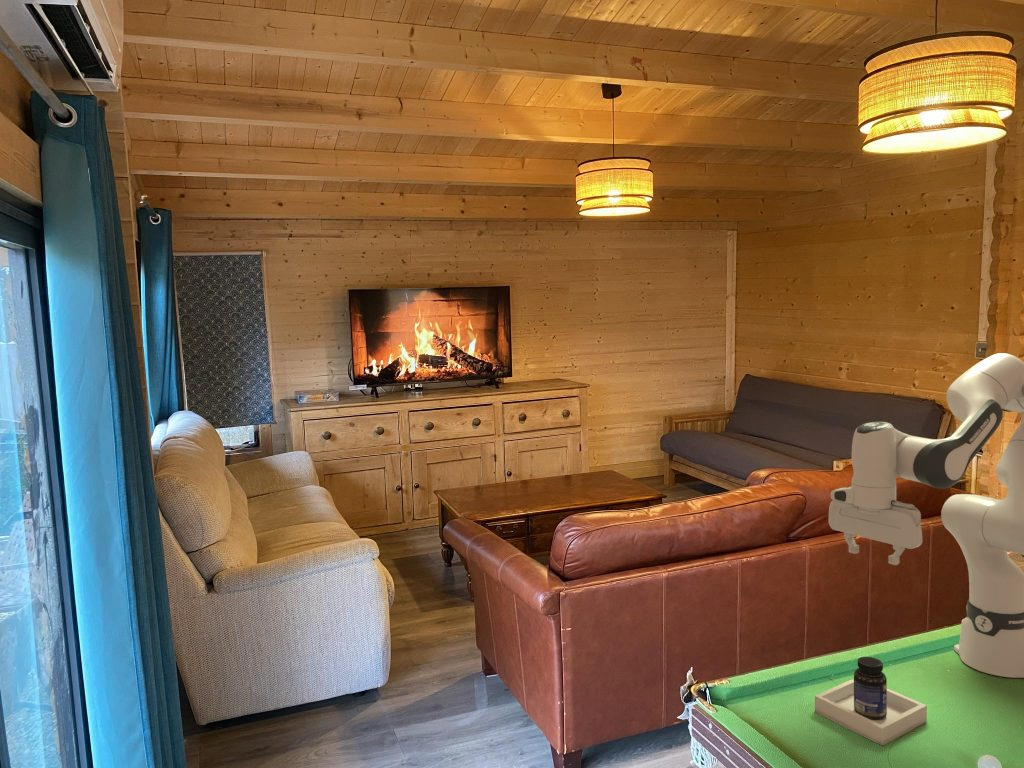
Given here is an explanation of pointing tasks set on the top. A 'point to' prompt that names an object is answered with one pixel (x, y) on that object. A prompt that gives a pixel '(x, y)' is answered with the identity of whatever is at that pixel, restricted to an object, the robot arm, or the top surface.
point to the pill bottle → (870, 689)
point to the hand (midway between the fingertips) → (873, 558)
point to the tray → (897, 722)
